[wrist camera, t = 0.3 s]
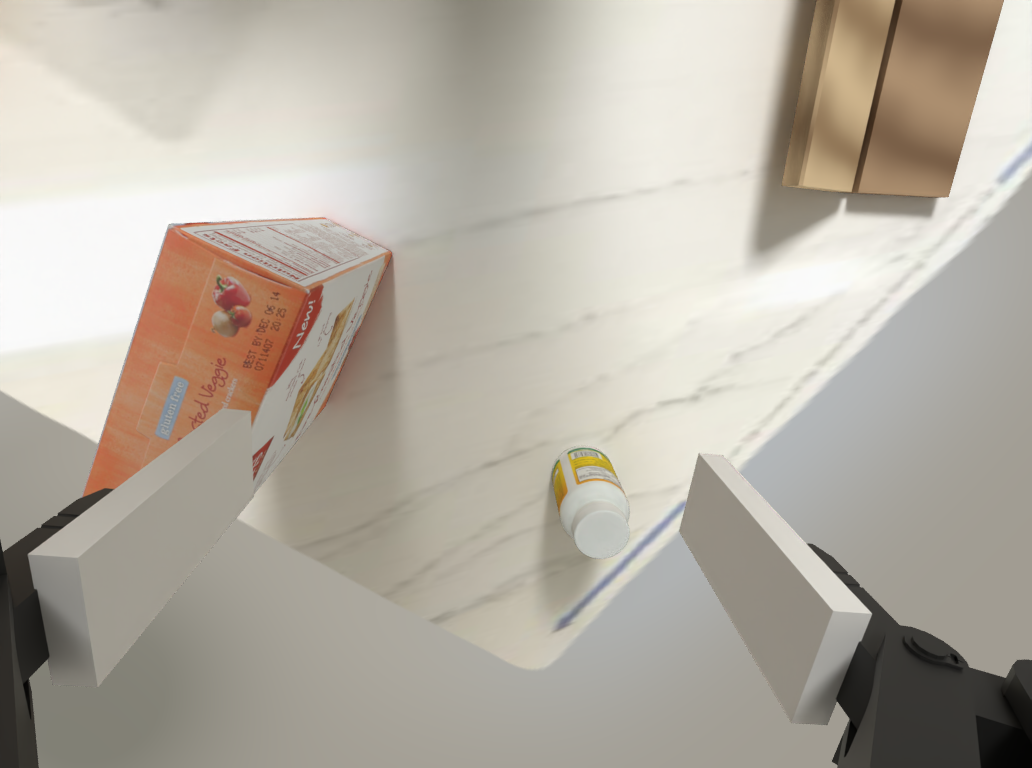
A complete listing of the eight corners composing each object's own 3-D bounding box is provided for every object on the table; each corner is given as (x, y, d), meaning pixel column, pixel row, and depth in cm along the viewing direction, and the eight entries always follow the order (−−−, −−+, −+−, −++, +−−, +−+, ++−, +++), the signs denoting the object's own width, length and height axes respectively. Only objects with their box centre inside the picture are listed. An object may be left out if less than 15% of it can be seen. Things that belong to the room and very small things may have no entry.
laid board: (922, -179, 33) (937, -192, 32) (1035, -167, 34) (1054, -180, 33) (840, 192, 40) (850, 191, 39) (935, 197, 41) (948, 197, 40)
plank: (860, -234, 30) (884, -249, 29) (916, -180, 33) (939, -192, 32) (781, 185, 36) (798, 185, 35) (835, 192, 40) (851, 191, 39)
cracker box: (331, 407, 44) (199, 571, 24) (259, 376, 43) (59, 520, 23) (400, 252, 40) (313, 294, 20) (324, 213, 39) (154, 217, 19)
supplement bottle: (586, 431, 45) (610, 487, 36) (623, 473, 47) (655, 537, 38) (537, 469, 46) (549, 532, 37) (575, 509, 48) (595, 580, 39)
